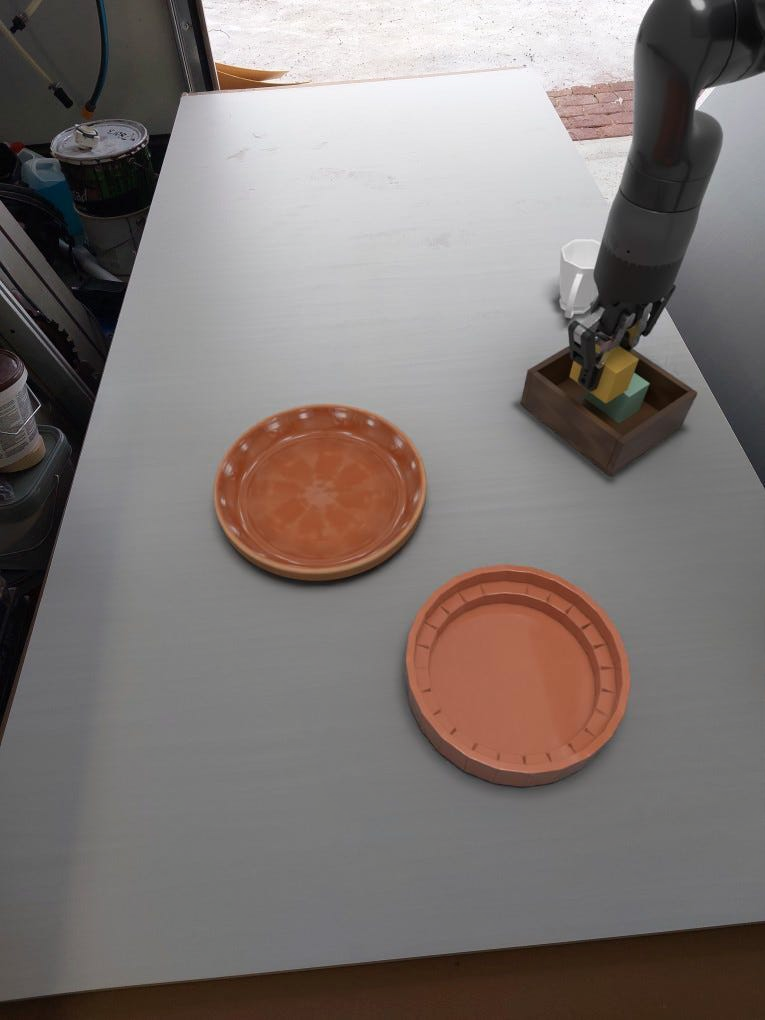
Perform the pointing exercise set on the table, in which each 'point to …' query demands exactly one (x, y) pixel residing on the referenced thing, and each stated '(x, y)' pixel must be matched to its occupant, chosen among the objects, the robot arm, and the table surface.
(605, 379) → the yellow block
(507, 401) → the table surface
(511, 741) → the bowl
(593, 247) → the cup
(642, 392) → the mint green block
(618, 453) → the holder
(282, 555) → the saucer
